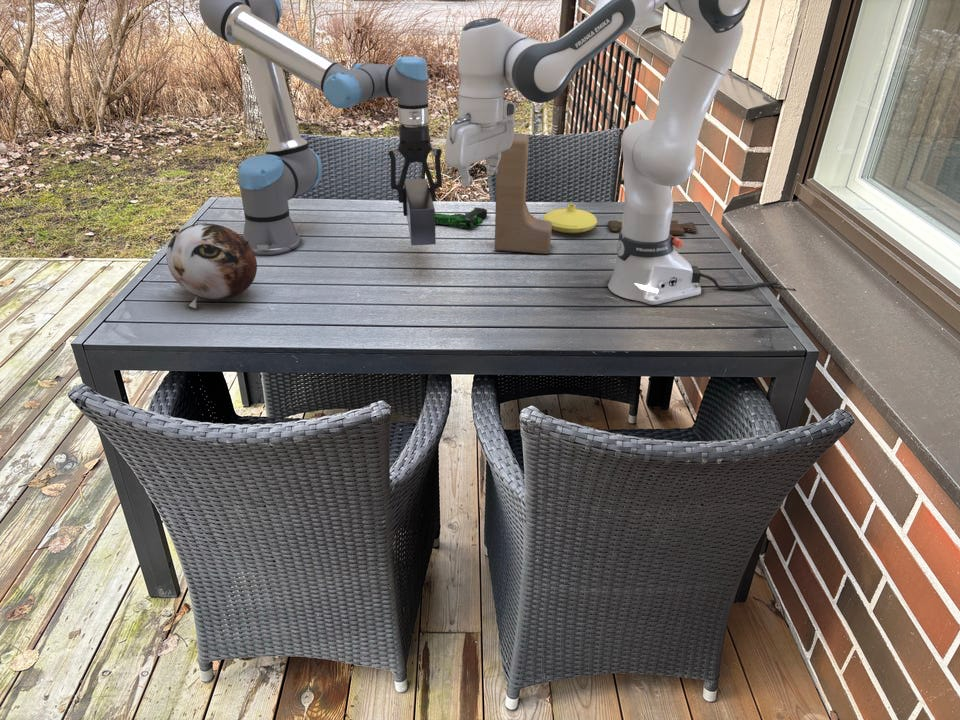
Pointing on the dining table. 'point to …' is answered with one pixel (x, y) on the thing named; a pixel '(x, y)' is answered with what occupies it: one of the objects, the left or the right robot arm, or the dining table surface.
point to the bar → (420, 212)
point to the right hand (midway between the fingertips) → (479, 179)
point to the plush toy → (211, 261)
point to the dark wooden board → (674, 229)
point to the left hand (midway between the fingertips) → (417, 213)
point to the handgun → (462, 218)
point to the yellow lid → (571, 220)
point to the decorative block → (517, 205)
